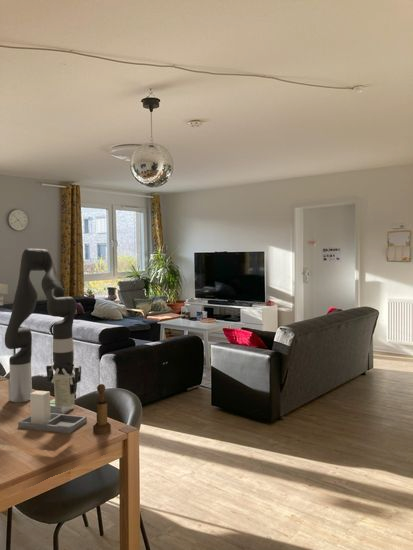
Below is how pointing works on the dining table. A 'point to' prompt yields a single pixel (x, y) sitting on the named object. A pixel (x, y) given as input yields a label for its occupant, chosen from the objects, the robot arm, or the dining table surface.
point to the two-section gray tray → (55, 423)
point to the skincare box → (63, 391)
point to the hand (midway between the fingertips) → (64, 392)
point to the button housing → (59, 408)
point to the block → (40, 407)
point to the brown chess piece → (101, 414)
